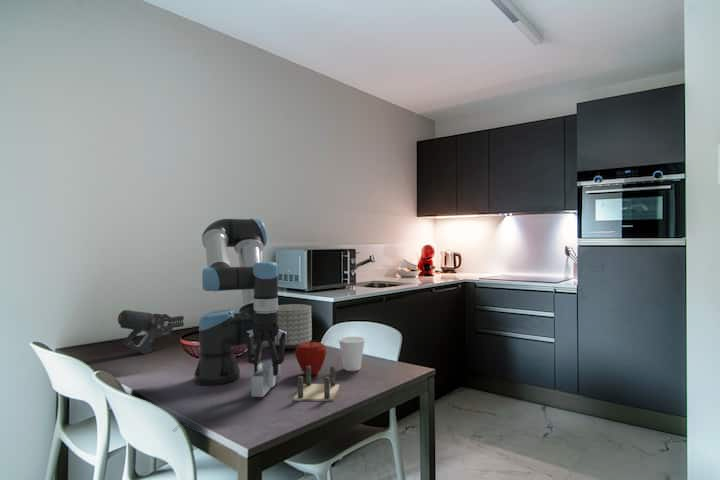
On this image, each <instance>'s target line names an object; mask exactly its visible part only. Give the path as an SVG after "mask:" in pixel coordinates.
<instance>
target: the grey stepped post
mask: <svg viewBox="0 0 720 480" xmlns="http://www.w3.org/2000/svg"><path fill="white" fill-rule="evenodd" d="M271 365H272V359H268V360H267V361H266V362H264V364H262V367H261V368H260V369H259V370H258V371H257V372H255V373H253V374H252V375H251V397H255V398H256V397H259V398H260V397H261V398H263V397H264V396H265V395H266V394H267V393H268V392H269V391H270V390H271V388H272V387H270V366H271ZM280 379H281V364H278V374H277V376H275V384H277V382H278V381H279V380H280Z"/></svg>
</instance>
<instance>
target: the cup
mask: <svg viewBox="0 0 720 480" xmlns="http://www.w3.org/2000/svg"><path fill="white" fill-rule="evenodd" d="M365 341H366V339H365V338H364V337H362V336H344V337H343V336H342V337H340V338H339V339H338V342H339V347H340V353H341V358H342V359H341V360H342V364H343V369H344V370H345V371H347V372H357V371H359V370H360V369H361V367H362V361H363V360H362V359H363V355H364V354H363V353H364V347H365Z"/></svg>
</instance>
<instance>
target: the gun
mask: <svg viewBox="0 0 720 480" xmlns="http://www.w3.org/2000/svg"><path fill="white" fill-rule="evenodd" d="M184 318H185V317H184V315H177V316H170V315H168V314H167V313H163V314H161V313H150V312H145V311H144V312H143V311H137V310H130V309H124V310H122V311H121V312H119V314H118V316H117V322H118V324H119V326H120V327H119V328H122V329H126V330H127V329H128V330H132V331H131V332H130V333H129V334H128V336H127V337H126V338H125V339H124V341H123V342H122V344H123V345H125V346H128V348H130V349H132V350H134V351H136V352H138V353H140V354H141V355H147V354H150V353H152V350H153V349H152V348H153V346H154V345H155V343H156V342H157V341H158V340H159V339H160V338H161V337H165V336H169V335H170V334H171V332H172V330H173V329H174V328H180V327H181V328H182V327H185V322H184ZM166 323H167V324H166ZM142 332H144V333H145V335H144V336H143V337H142V339H141V340H140V342H139V343H138V344H134V340H135V338H136V337H137V336H138V334H141V333H142Z"/></svg>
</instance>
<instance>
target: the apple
mask: <svg viewBox="0 0 720 480" xmlns="http://www.w3.org/2000/svg"><path fill="white" fill-rule="evenodd" d="M294 353H295V358H296V360H297V362H298V365H299V367H300V369H301V371H302V373H304V374H305V375H306V366H311V376H316V375H317V374H318V373H320V371H321V369H322V367H323V365H324V362H325V358H326V355H327V347H326V346H325V345H324V344H323V343H322V342H320V341H318V342H317V341H312V340H311V341H310V342H304V343H301V344H300V345H299V346H298V347H297V348H295V352H294Z"/></svg>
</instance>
